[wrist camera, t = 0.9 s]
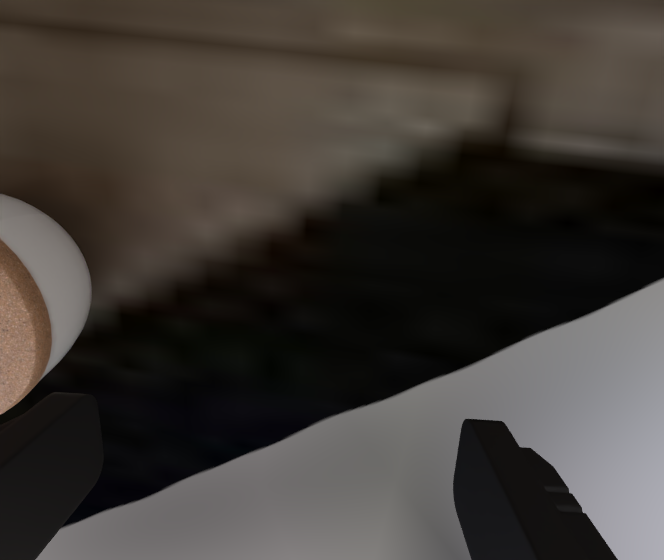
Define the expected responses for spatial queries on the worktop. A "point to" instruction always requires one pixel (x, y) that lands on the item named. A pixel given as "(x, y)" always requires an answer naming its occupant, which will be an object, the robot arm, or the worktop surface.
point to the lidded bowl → (37, 297)
